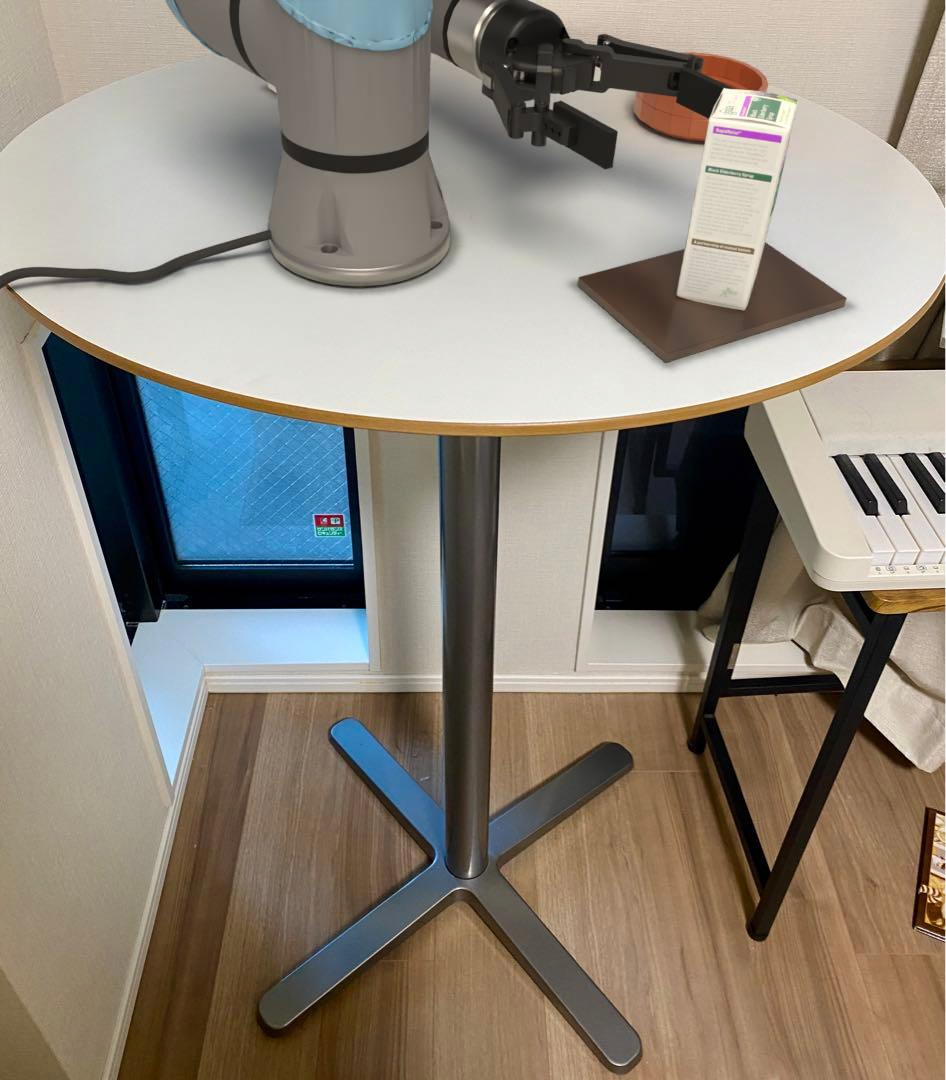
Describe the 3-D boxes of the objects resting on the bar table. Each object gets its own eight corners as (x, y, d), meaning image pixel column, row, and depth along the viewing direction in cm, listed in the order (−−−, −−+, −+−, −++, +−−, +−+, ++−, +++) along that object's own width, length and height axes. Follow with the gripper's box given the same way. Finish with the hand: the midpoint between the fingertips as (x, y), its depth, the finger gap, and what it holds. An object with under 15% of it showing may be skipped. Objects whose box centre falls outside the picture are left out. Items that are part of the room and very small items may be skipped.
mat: (665, 363, 74) (667, 353, 73) (577, 285, 81) (578, 276, 80) (844, 306, 80) (847, 297, 80) (747, 239, 87) (749, 231, 87)
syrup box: (746, 312, 77) (796, 127, 67) (672, 297, 79) (709, 113, 68) (755, 277, 81) (804, 96, 71) (684, 263, 82) (721, 83, 72)
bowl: (683, 154, 99) (691, 109, 96) (608, 106, 107) (614, 62, 104) (783, 132, 104) (794, 88, 101) (704, 87, 112) (713, 45, 109)
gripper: (609, 62, 96) (775, 143, 84) (391, 116, 85) (546, 217, 73) (620, -24, 90) (799, 49, 78) (389, 21, 79) (556, 115, 68)
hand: (678, 131), depth 76 cm, fingers open, 13 cm apart
